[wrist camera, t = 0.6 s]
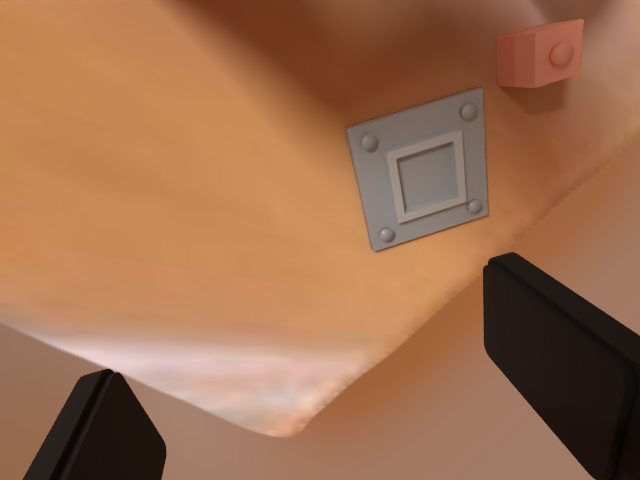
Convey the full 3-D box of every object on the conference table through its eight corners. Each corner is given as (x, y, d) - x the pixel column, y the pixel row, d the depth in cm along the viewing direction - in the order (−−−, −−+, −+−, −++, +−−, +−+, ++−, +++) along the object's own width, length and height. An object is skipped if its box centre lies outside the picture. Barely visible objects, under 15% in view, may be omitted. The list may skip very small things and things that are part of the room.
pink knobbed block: (496, 37, 39) (541, 31, 33) (538, 25, 40) (591, 17, 34) (497, 85, 42) (540, 88, 36) (537, 73, 42) (586, 74, 36)
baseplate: (344, 127, 40) (349, 130, 39) (477, 87, 41) (489, 88, 39) (371, 248, 48) (376, 256, 46) (483, 212, 49) (493, 218, 47)
